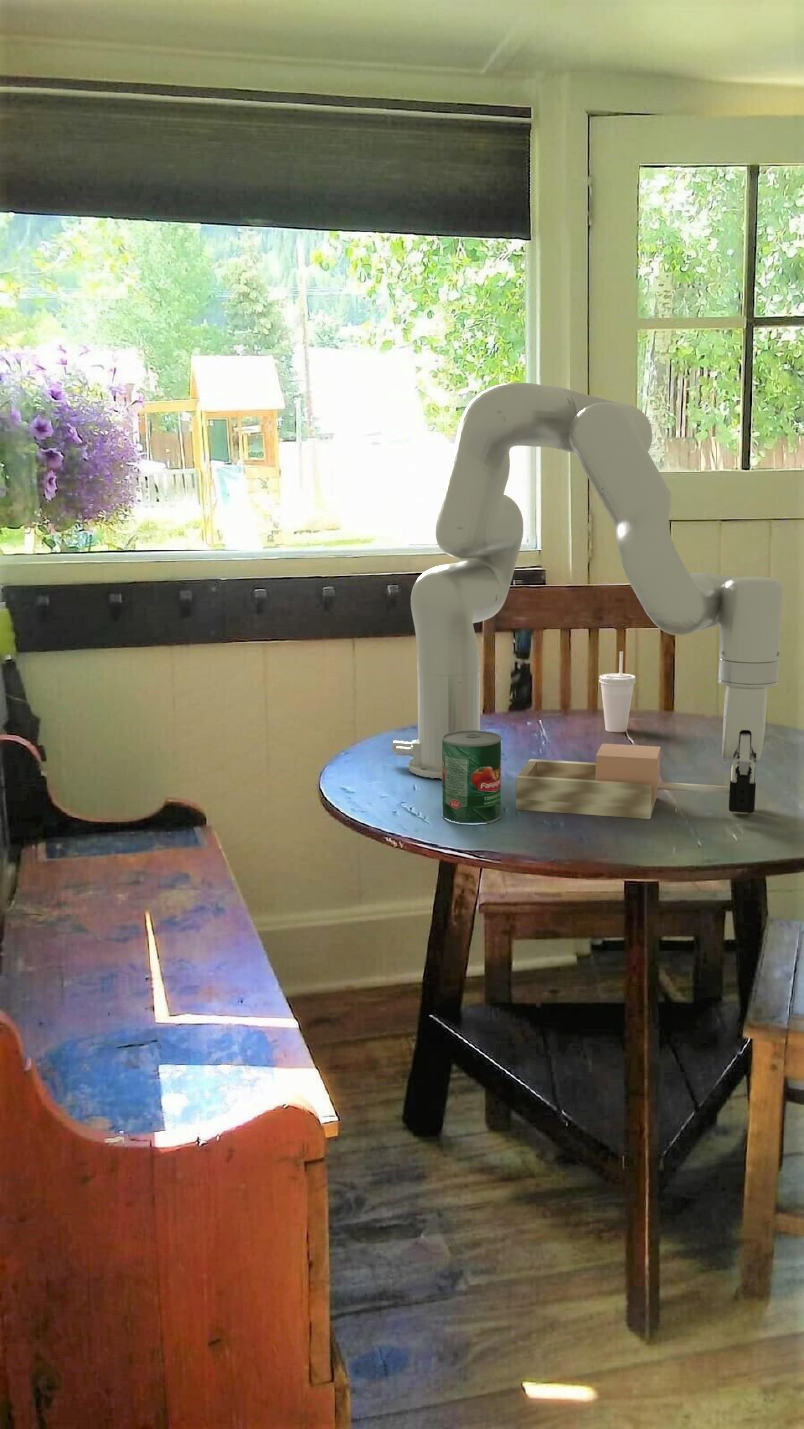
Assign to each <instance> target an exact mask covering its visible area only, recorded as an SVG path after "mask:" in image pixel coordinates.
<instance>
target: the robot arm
mask: <svg viewBox="0 0 804 1429" xmlns="http://www.w3.org/2000/svg"><path fill="white" fill-rule="evenodd" d="M457 429H458V430H457V434H456V440H455V446H454V451H453V456H452V460H451V465H450V467H449V472H448V475H447V479H446V482H445V487H444V492H443V494H442V499H441V503H440V507H439V511H438V512H439V513H438V516H437V519H436V520H437V521H436V525H435V538H436V542H437V545H438V547H439V548H440V549H441V551H442V552H443V553H444V554H446V555H448V556H450V557H452V558H456V559H459V560H458V562H453V563H446V564H440V565H437V566H434V567H431V568H429V569H426V571H424V572H423V573H422V574H420V575H419V576H418V577H417V579H416V581H415V582H414V584H413V586H412V590H411V594H410V609H411V615H412V621H413V626H414V633H415V641H416V656H417V657H416V661H417V662H416V666H417V667H416V671H417V737H418V738H417V739H413V740H412V741H405V740H393V742H392V752H393V753H395V755H396V756H410V758H412V759H410V760H409V762H408V772H410V773H412V774H413V773H414V774H413V775H415V774H416V775H415V776H418V775H419V777H422V776H423V777H422V778H427V777H432V778H431V779H434V778H440V779H439V780H442V736H443V735H445V734H447V733H450V732H456V731H467V730H476V731H481V668H480V667H481V660H480V659H481V657H480V648H479V642H478V639H477V638H478V637H477V635H476V632H475V628H474V624H475V623H481V622H483V621H486V620H489V619H491V618H493V617H494V616H495V615H496V614H498V613H499V612H500V611H501V609H502V608H503V606H504V604H505V602H506V599H507V598H508V594H509V590H510V587H511V584H512V580H513V576H514V573H515V568H516V564H517V560H518V557H519V554H520V550H521V546H522V542H523V538H524V518H523V515H522V512H521V509H520V507H519V505H518V504H517V503H516V501H514V500H513V499H512V498H511V497H510V496H508V495H506V494H505V490H506V486H507V484H508V481H509V476H510V468H511V467H510V466H511V465H510V464H511V460H510V450H511V449H512V448H513V447H519V446H521V447H522V446H523V447H532V448H533V447H536V448H538V447H541V448H552V449H556V450H561V451H565V452H569V453H571V454H574V455H575V457H576V458H577V460H578V463H579V464H580V466H581V468H582V470H583V471H584V473H585V475H586V477H587V479H588V480H589V482H590V483H591V485H592V487H593V488H594V491H595V493H596V495H597V496H598V498H599V500H600V501H601V503H602V506H603V507H604V510H605V512H606V513H607V515H608V516H609V519H610V521H611V523H612V524H613V527H614V531H615V538H616V543H617V544H616V545H617V549H618V553H619V556H620V561H621V565H622V567H623V568H622V569H623V571H624V574H625V576H626V579H627V581H628V583H629V585H630V587H631V588H632V590H633V592H634V594H635V595H636V598H637V599H638V602H639V603H640V605H641V606H642V608H643V610H644V612H645V613H646V615H647V617H649V619H650V620H651V621H652V622H653V624H654V625H655V626H656V627H657V628H659V629H660V630H661V631H662V632H663V633H667V634H669V635H672V636H685V635H686V636H687V635H689V634H692V633H695V632H697V631H701V630H705V629H709V628H715V627H720V630H719V631H720V632H719V633H720V635H719V651H718V652H719V653H718V654H719V655H718V656H719V658H718V676H717V677H718V678H717V684H719V685H720V686H724V687H725V692H724V701H723V702H724V703H723V721H722V743H721V759H722V760H723V761H724V762H727V760H731V759H732V765H733V773H732V781H731V773H729V774H730V778H729V786H730V793H729V794H728V795H729V797H728V811H729V812H732V813H734V812H742V813H746V814H753V813H754V812H755V806H756V803H755V802H756V789H757V786H756V785H757V782H755V781H756V766H755V765H756V764H757V763H758V762H760V761H761V757H762V752H763V745H764V739H765V738H764V737H765V731H766V722H767V720H766V719H767V718H766V717H767V707H768V692H769V689H770V688H776V687H777V686H778V685H779V670H780V653H781V650H780V649H781V638H782V636H781V634H782V619H783V618H782V617H783V602H784V600H783V599H784V588H783V585H782V583H781V582H780V581H779V580H778V579H776V578H773V577H766V576H736V577H733V576H728V575H722V574H717V573H711V572H706V571H705V572H703V571H701V572H693V573H690V572H689V571H688V569H687V567H686V566H685V564H684V562H683V561H682V559H681V557H680V555H679V553H678V551H677V549H676V546H675V545H674V541H673V539H672V535H671V532H670V524H669V523H670V522H669V518H670V514H671V513H670V512H671V510H672V509H671V508H672V505H673V504H672V503H673V496H672V492H671V490H670V488H669V486H668V484H667V483H666V482H665V479H664V478H663V476H662V474H661V472H660V471H659V469H658V467H657V466H656V464H655V462H654V460H653V458H652V457H651V455H650V453H649V450H650V448H651V446H652V442H653V429H652V424H651V422H650V420H649V418H648V417H647V416H646V414H645V413H644V412H643V411H642V410H640V408H637V407H636V406H634V405H631V404H627V403H622V402H619V401H613V400H609V399H605V398H601V397H597V396H595V395H590V394H586V393H583V392H578V391H574V390H572V389H571V390H570V389H568V388H567V389H566V388H563V387H558V386H553V385H551V386H550V385H544V384H537V383H531V382H508V383H503V384H502V383H501V384H497V385H495V386H491V387H489V388H487V389H484V391H482V392H480V393H479V394H477V395H476V396H475V397H474V398H473V399H472V400H470V402H469V403H468V405H467V406H466V408H465V410H464V412H463V413H462V415H461V418H460V421H459V425H458V428H457ZM737 765H739V766H737ZM749 765H751V767H750V766H749ZM754 772H755V774H754ZM736 774H737V777H736ZM736 780H737V781H736Z"/></svg>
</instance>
